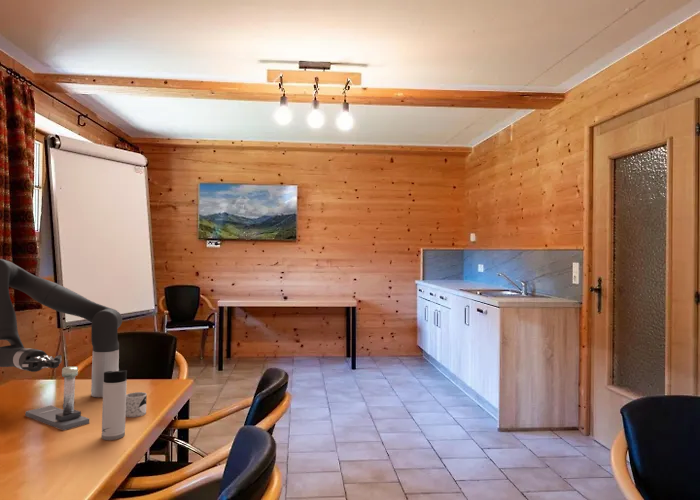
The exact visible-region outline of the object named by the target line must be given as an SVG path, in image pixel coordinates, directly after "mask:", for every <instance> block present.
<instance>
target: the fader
mask: <svg viewBox="0 0 700 500" xmlns="http://www.w3.org/2000/svg"><path fill="white" fill-rule="evenodd" d="M78 375H79V367H78V366H76V365H75V366H65V367H62V369H61V377H63V379H64V381H63V399H62V403H63V405H62V409H63V413H59V414H56V418H55V420H58V421H61V422H62V421H66V420H70V419H73V418H77V417H81V416H82V412H81V410H78V409H75V393H76V391H75V389H76V376H78Z"/></svg>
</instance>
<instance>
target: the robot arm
mask: <svg viewBox="0 0 700 500" xmlns="http://www.w3.org/2000/svg"><path fill="white" fill-rule="evenodd" d="M9 288H11V289H14V290H17V291H20V292H22V293H24V294H26V296H29V297H30V298H31V299H33V300H34V301H35V302H37V303H39V304H41V305H42V306H44V307H47V308H49V309H51V310H54V311H56V312H58V313H62V314H66V315H71V316H75V317H78V318H82V319H84V320H86V321H88V322H90V323H91V328H90V329H91V332H90V333H91V336H90V337H91V346H92V359H91V361H92V362H91V363H92V364H91V390H90V393H91V394H90V395H91V397H94V398H103V384H104V383H103V382H104V372H108V371H112V372H114V371H119V370H120V368H119V363H120V361H119V359H120V342H119V340H118V329H119V328H120V327H121V326H122V323H123V317H122V314H121V313H120V311H119V310H116V309H115V308H112V307H108V306H105V305H102V304H100V303H97V302H94V301H92V300H90V299H88V298H87V297H84V296H83V295H81V294H79V293H77V292H75V291H73V290H71V289H69V288H67V287H65V286H63V285H61V284H58V283H57V282H53V281H51V280H48V279H47V278H46V279H45V278H42V277H39V276H37V275H34V274H32V273H30V272H28V271H27V270H25V269H24V268H22V267H20V266H19V265H17V264H15V263H14V262H12V261H10V260H6V259H3V258H0V341H7V343H9V344H10V345H4V346H0V368H8V367H9V368H10V367H11V368H12V367H14V368H17V369H20V370H22V371H28V372H32V373H36V372H39V371H41V370H43V369H48V368H49V369H58V368H59V367H60V366H59V365H60V364H61V363H62V361H63V359H62V357H63V356H62V355H61V354H59V355H56V356H55V357H53V356H51V355H50V356H49V355H48V354H47V353H46V351H44V350H42V349H37V348H31V347H30V348H29V347H25V346H24V344H23V342H22V340H21V337H20V335H19V331H18V322H17V313H16V312H15V308H14V305H13V303H12V299H11V296H10V289H9Z"/></svg>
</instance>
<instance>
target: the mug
mask: <svg viewBox="0 0 700 500" xmlns="http://www.w3.org/2000/svg"><path fill="white" fill-rule="evenodd" d="M147 395H148V394H147V392H143V391H137V392H129V393H126V415H125V418H139V417H142V416H143V417H144V416H145V415H146V414H147Z"/></svg>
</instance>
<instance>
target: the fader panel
mask: <svg viewBox="0 0 700 500" xmlns="http://www.w3.org/2000/svg"><path fill="white" fill-rule="evenodd" d="M59 413H63V408H59V407H56V406H53V405H48V406H43V407H39V408H35V409H29V410H26V411H25V415H24V416H25V417H27V418H30V419H33V420H36V421H37V422H41V423H43V424H46V425H48V426H50V427H53V428H55V429H58V430H61V431H67V430H70V429H74V428H77V427H81V426H85V425H88V424H90V418H89V417H86V416H83V415H81V417H77V418H73V419H70V420H66V421H62V422H61V421H58V420H55V418H56V414H59Z"/></svg>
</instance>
